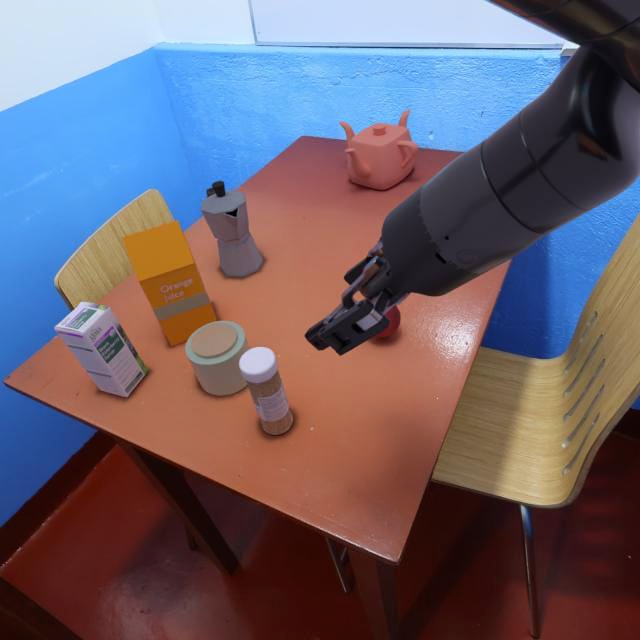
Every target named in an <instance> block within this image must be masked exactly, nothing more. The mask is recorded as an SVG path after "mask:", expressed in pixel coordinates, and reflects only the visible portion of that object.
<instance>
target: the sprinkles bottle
mask: <svg viewBox="0 0 640 640" xmlns="http://www.w3.org/2000/svg"><path fill="white" fill-rule="evenodd" d="M239 367H240V370H241V373H242V375H243V377H244V379H245V380H246V382H247V384H248V385H247V387H248V391H249V394H250V397H251V399H252V403H253V405H254V408H255V410H256V413H257V415H258V417H259V419H260V422H261V428H262V429H263V431H264V432H265V433H267V434H269V435H273V436H278V435H282V434H284V433H286V432H288V431H289V430H290V428H291V427H292V425H293V422H294V416H293V413H292V412H291V410H290V406H289V405H290V404H289V400H288V396H287V393H286V390H285V387H284V383H283V380H282V378H281V375H280V372H279V364H278V359H277V357H276V354H275V353H274V351H273V349H271V348H268V347H266V346H256V347H252V348H250V350H248V351H246V352H245V353H244V354H243V355H242V357H241V358H240V361H239Z"/></svg>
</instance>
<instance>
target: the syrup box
mask: <svg viewBox="0 0 640 640" xmlns="http://www.w3.org/2000/svg"><path fill="white" fill-rule="evenodd" d="M53 328H54V331H55V332H56V333H57V335H58V336H59V337H60V339H61V340H62V341H63V343H64V344H65V345H66V347H67V348H68V350H70V352H71V353H72V355H73V356H74V357H75V359H76V360H77V361H78V362H79V364H80V365H81V367H82V368H83V370H84V371H85V372H86V373H87V375H88V376H89V377H90V379H91V380H92V381H93V383H94V384H95V385H96V387H97V388H98V389H99V391H101V392H105V393H108V394H112V395H115V396H119V397H123V398H129V397H130V395H131V393H132V392H133V391H134V389H135V388H136V387H137V386H138V385H139V383H140V382H141V381H142V380H143V379H144V377H145V376H146V375H147V374H148V372H149V369H148V367H147V366H146V365H145V363H144V361H143V360H142V358H141V356H140V355H139V353H138V351H137V349H136V348H135V346H134V345H133V343H132V341H131V340H130V338H129V336H128V335H127V333H126V332H125V330H124V328H123V326H122V325H121V323H120V322H119V320H118V318H117V317H116V315H115V313H114V312H113V310H112V309H111V307H110V306H108V305H104V304H99V303H94V302H88V301H80V302H79V303H78V304H77V306H76V307H75V308H73V310H72V311H70V312H69V313H68V314H67V315H66V316H64V318H63V319H62V320H61V321H60V322H58V323H57V324H56V325H55V326H54V327H53Z"/></svg>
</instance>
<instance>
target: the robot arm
mask: <svg viewBox="0 0 640 640" xmlns="http://www.w3.org/2000/svg"><path fill="white" fill-rule="evenodd" d="M484 2H487V3H489V4H491V5H493V6H495V7H497V8H498V9H501V10H503V11H505V12H507V13H509V14H512V15H513V16H515V17H517V18H519V19H521V20H524V21H525V22H527V23H530V24H532V25H533V26H535V27H538V28H539V29H542V30H543V31H546V32H548V33H550V34H553V35H554V36H556V37H558V38H560V39H563V40H566V41H567V42H570V43H571V44H575V45H578V47H577V48H576V49H575V51H574V53H573V54H572V55H571V56H570V57H569V59H568V60H567V61H566V62H565V64H564V66H562V68H561V70H559V71H558V73H557V75H556V76H555V77H554V78H553V80H552V81H551V82H550V84H549V85H548V86H547V87H546V89H545V90H544V91H542V92H541V94H540V95H538V96H537V97H536V98H534V99H533V100H531V102H529V103H528V104H526V105H525V106H524V107H522V108H521V109H520V110H519V111H518V112H516V113H515V114H514V115H513V116H512V117H510V118H509V119H508V120H507V121H506V122H504V123H503V124H502V125H500V126H499V127H498V128H497V129H496V130H494V131H493V132H492V133H491V134H490V135H488V136H487V137H486V138H485V139H483V140H481V142H479V143H478V144H476V145H475V146H472V147H471V148H470V149H467V151H465V152H463V153H461V154H459V155H458V156H457V157H456V158H455V159H454V158H453V160H452V161H450V162H449V163H448V164H447V165H446V166H444V167H443V168H442V169H441V170H439V171H438V172H437V173H436V174H435V175H433V176H432V177H431V178H430V179H428V180H427V181H426V182H425V183H424V184H423V185H421V186H420V187H418V189H417V190H415V191H414V192H413V193H412V194H410V195H409V196H408V197H407V198H406V199H404V200H403V201H402V202H401V203H399V204H398V205H397V206H396V207H394V208H393V209H392V210H391V211H390V212H389V213H388V214H387V215H386V216H385V218H384V219H383V223H382V225H381V226H382V227H381V233H380V235H381V236H380V237H379V239H378V240H377V243H376V244H375V245H374V246H373V247H372V248H371V249H370V250H368V253H367V255H366V257H364V258H363V259H362V260H360V261H359V262H358V263H356V265H354V266H353V267H351V268H350V269H348V271H346V272H345V274H344V276H343V280H344V281H345V283H347V284H348V285H349V286H348V287H347V288H346V289H345V290H344V291H343V292H342V293H341V295H340V299H341V302H340V304H338V305H337V306H336V308H334V310H332V311H331V313H329V314H327V315H326V316H325V317H324V318H323V319H321V320H320V321H318V322H317V323H315V324H314V325H312V326H310V327H309V328H308V329H307V330H306V332H305V334H304V338H305V340H306V341H307V342H308V343H309V344H310V345H311V346H313V348H315V350H316V351H318V352H321V351H324V350H326V349H328V348H331V349H332V350H333V351H335V353H336V354H337V355H338V356H339V357H341V356H343V355H346V354H347V353H348V352H350V351H352V350H353V349H356V348H357V347H359V346H361V345H363V344H364V343H366V342H368V341H369V340H371V339H373V338H374V337H377V336H376V335H378V334H380V333H381V332H383V331H385V330H386V329H387V328H388V326H389V324H390V322H391V321H390V320H389V319H388V318H387V317H386V316H385V314H386V313H387V312H388V311H389V310H390V309H391V308H392V307H393V306H395V305H396V306H399V305H401V304H402V303H403V302H404V301H405V300H406V299H407V298H408V297H409V296H410V295H411V294H412V293H413V294H417V295H422V296H426V297H433V298H436V297H437V298H438V297H442V296H445V295H448V294H449V293H451V292H452V291H455V290H456V289H458V288H460V287H462V286H463V285H465V284H468V283H470V282H471V281H473V280H475V279H476V278H479V277H480V276H482V275H484V274H486V273H487V272H489V271H491V270H493V269H495V268H496V267H498V266H501V265H502V264H504V263H506V262H508V261H510V260H511V259H513V258H516V257H517V256H518V255H520V254H521V253H523V252H525V251H526V250H527V249H529V248H530V247H532V246H533V245H534V244H535V243H537V242H539V240H541V239H543V238H544V237H546V236H547V235H549V234H551V233H552V232H555V231H556V230H558V229H560V228H562V227H564V226H565V225H567V224H568V223H571V222H572V221H574V220H576V219H578V218H580V217H582V216H583V215H585V214H587V213H589V212H591V211H592V210H594V209H596V208H598V207H599V206H601V205H603V204H605V203H606V202H608V201H610V200H612V199H613V198H615V197H617V196H618V195H620V194H621V193H623V192H625V191H626V190H628V189H629V188H630V187H631V186H632V185H633V184H634V183H635V182H636V181H637V179H638V178H639V177H640V0H484ZM358 292H359V293H360V295H361V296H363V299H362V300H358V301H357V300H356V298H354V296H355V294H357V293H358Z"/></svg>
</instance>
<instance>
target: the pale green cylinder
mask: <svg viewBox="0 0 640 640" xmlns="http://www.w3.org/2000/svg"><path fill="white" fill-rule="evenodd" d="M184 347H185V348H184V352H185V355H186V358H187V360H188V362H189V363H190V365H191V368H192V370H193V371H194V374H195V376H196V378H197V380H198V382H199V385H200V386H201V388H202V389H203V390H204V392H206V393H207V394H209V395H213V396H216V397H217V396H219V397H221V396H229V395H233V394H236V393H238V392H240V391H242V390H243V389H244V388H246V387H248V384H247V382H246V380H245V379H244V377H243V375H242V373H241V370H240V367H239V361H240V358H241V357H242V355H243V354H244V353H245V352H246V351H248V350H250V349H251V348H250V344H249V342H248V339H247V335H246V332H245V330H244V328H243V327H242V326H241V325H240V324H238V323H237V322H234V321H230V320H217V321H216V322H212V323H209V324H206V325H204V326H202V327H200V328H199V329H197V330H196V331H195V332H194V333H193V334H192V335H191V336H190V337H189V339H188V340H187V341H186V343H185V346H184Z"/></svg>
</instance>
